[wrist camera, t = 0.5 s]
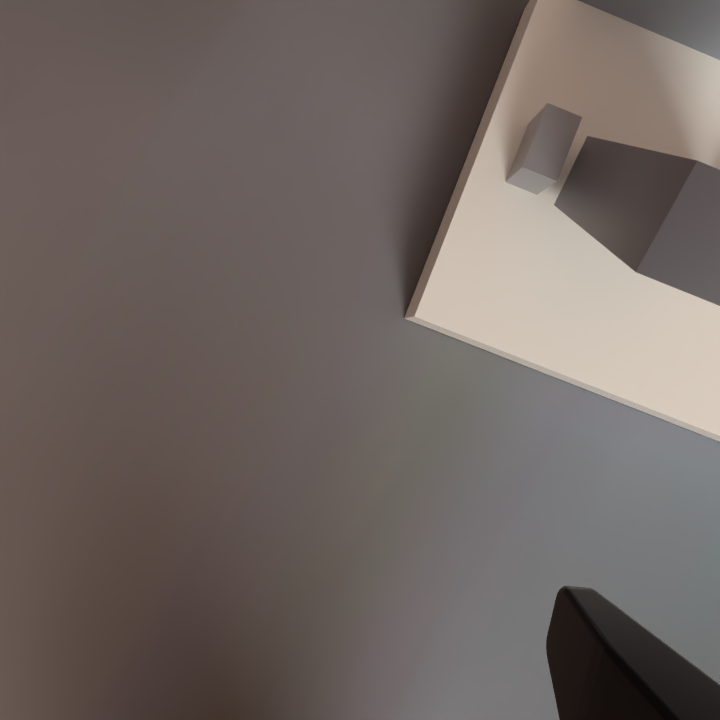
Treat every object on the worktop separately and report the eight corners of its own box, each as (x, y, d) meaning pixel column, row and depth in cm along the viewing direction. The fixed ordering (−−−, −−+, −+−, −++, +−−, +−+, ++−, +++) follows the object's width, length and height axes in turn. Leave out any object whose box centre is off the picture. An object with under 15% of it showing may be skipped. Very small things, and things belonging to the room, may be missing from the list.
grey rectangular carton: (675, 252, 20) (841, 354, 12) (550, 202, 20) (635, 271, 12) (712, 187, 19) (916, 250, 11) (583, 134, 19) (697, 160, 11)
